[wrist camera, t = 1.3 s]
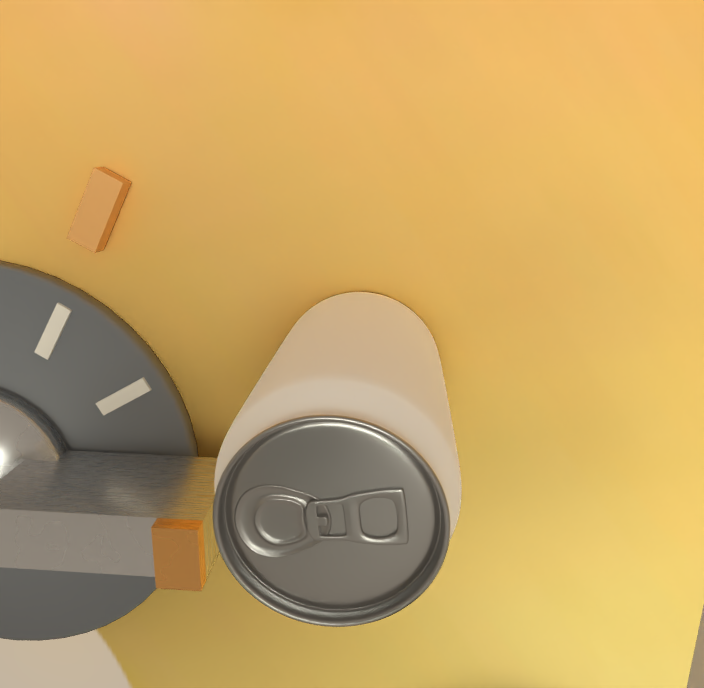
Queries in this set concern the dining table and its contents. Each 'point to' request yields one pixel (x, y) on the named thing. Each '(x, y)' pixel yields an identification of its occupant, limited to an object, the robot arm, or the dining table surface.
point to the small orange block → (98, 209)
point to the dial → (101, 506)
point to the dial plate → (81, 430)
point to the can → (341, 467)
